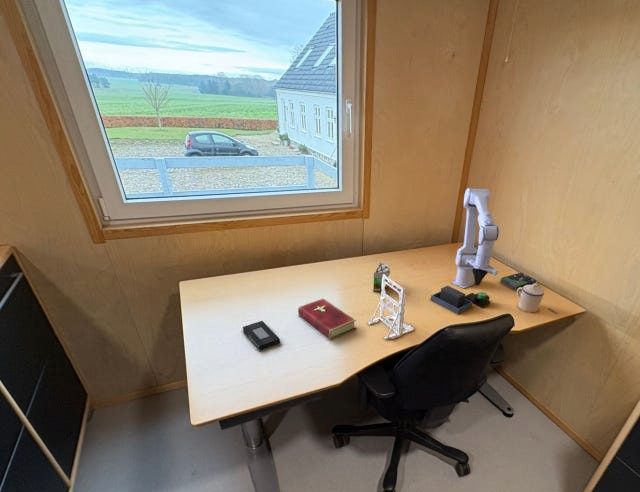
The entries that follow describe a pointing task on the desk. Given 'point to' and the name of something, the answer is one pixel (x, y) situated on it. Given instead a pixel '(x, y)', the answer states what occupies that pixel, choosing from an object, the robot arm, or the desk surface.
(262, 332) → the vhs tape
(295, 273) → the desk surface
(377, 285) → the food container
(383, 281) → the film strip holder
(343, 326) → the hardcover book
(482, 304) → the panel
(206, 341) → the desk surface
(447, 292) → the dark grey block
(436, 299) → the open rectangular tray
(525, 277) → the disk drive
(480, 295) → the button
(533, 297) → the teacup with lid
